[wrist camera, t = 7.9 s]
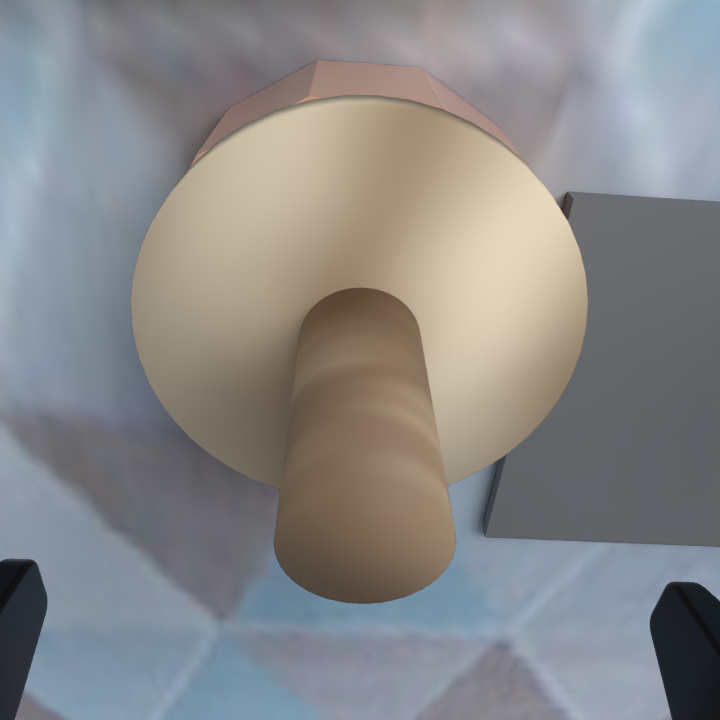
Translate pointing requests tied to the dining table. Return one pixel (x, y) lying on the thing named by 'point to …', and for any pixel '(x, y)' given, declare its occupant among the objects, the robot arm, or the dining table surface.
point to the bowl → (350, 80)
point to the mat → (630, 388)
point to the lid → (359, 325)
